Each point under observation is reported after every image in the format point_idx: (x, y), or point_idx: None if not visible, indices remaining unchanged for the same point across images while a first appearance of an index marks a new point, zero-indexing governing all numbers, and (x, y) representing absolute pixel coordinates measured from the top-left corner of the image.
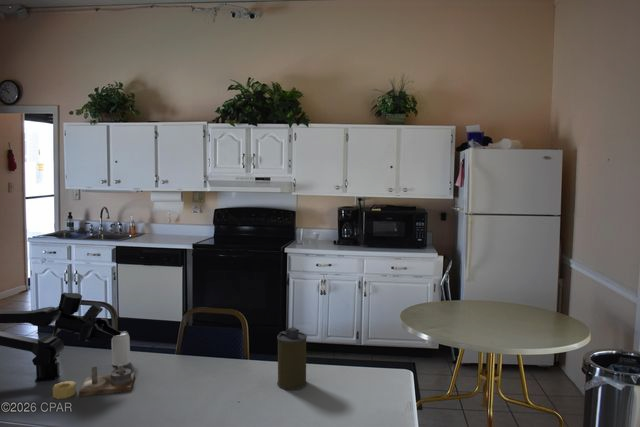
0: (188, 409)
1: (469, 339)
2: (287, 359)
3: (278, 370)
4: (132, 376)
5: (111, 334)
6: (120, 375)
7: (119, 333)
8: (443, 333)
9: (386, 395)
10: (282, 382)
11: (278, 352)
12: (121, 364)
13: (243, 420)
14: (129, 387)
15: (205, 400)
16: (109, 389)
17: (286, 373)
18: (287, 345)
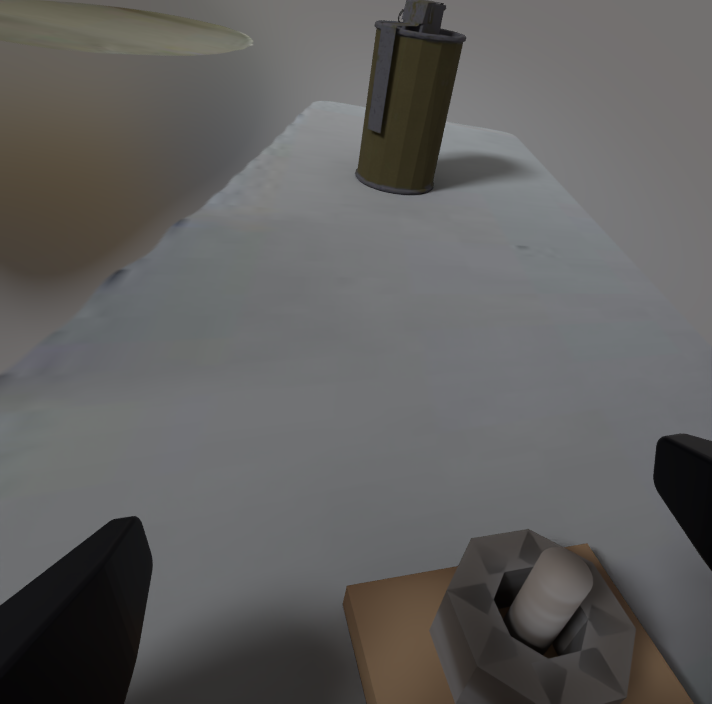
0: (625, 329)
1: (188, 49)
2: (450, 99)
3: (420, 148)
4: (425, 579)
5: (698, 449)
6: (602, 588)
7: (141, 548)
8: (142, 49)
9: None
10: (429, 175)
11: (432, 89)
12: (545, 569)
13: (614, 247)
14: (588, 551)
15: (545, 298)
16: (684, 693)
17: (440, 143)
18: (460, 52)
